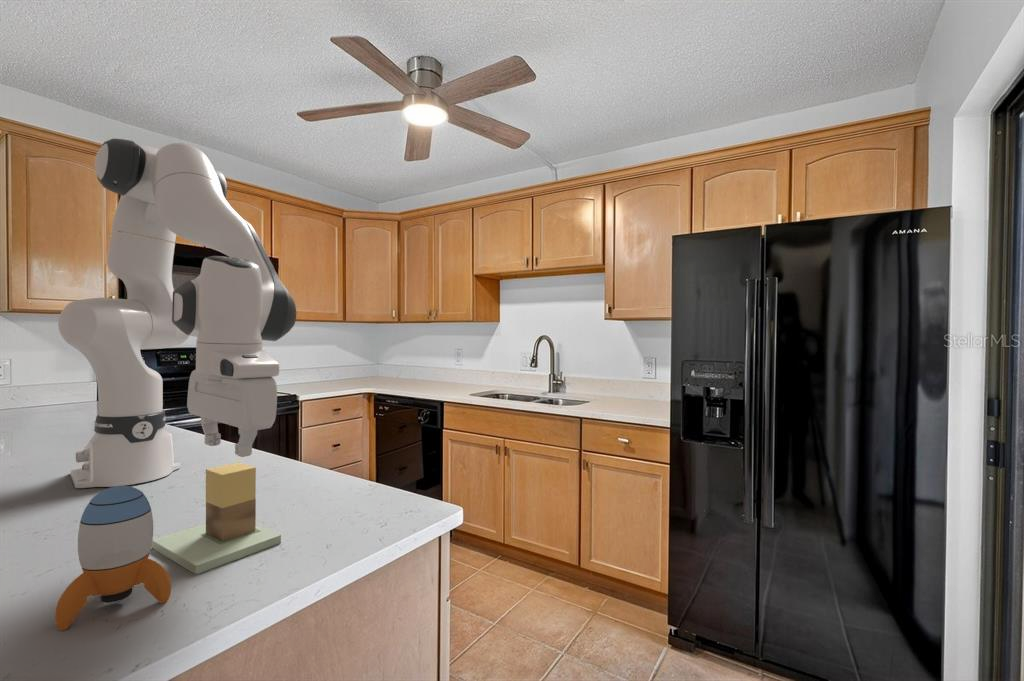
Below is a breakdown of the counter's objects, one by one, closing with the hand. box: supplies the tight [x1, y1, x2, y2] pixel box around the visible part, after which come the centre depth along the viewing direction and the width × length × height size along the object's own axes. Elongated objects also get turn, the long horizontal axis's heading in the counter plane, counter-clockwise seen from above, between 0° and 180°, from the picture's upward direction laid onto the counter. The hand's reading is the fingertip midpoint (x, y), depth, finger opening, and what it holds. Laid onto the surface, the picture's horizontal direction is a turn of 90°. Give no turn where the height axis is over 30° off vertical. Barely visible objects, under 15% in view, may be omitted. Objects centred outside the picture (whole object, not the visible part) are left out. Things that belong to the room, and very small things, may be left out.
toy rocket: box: [54, 485, 172, 632], centre depth 58 cm, size 10×11×15 cm
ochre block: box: [205, 462, 257, 508], centre depth 75 cm, size 5×5×5 cm
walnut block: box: [205, 499, 257, 542], centre depth 75 cm, size 5×5×5 cm
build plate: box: [151, 523, 282, 575], centre depth 74 cm, size 14×12×1 cm
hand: (227, 450), depth 75 cm, fingers open, 8 cm apart
